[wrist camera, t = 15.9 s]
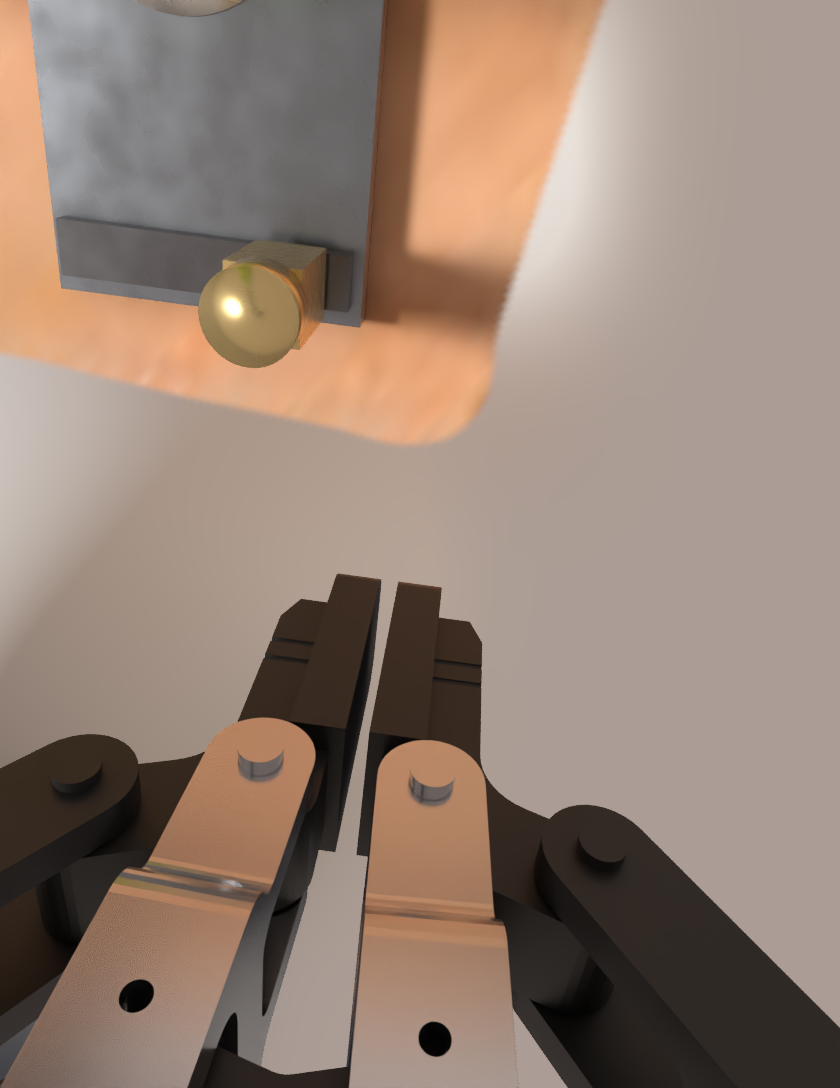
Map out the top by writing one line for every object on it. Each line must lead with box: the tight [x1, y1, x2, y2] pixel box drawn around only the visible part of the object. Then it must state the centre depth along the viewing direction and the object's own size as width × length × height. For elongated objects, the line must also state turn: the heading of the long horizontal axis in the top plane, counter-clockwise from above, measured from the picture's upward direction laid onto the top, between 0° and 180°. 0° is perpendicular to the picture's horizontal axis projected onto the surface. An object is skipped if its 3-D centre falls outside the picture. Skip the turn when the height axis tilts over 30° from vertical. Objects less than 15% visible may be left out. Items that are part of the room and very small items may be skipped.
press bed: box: [28, 0, 388, 327], centre depth 31 cm, size 21×14×2 cm
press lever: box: [198, 239, 327, 368], centre depth 31 cm, size 4×4×7 cm
